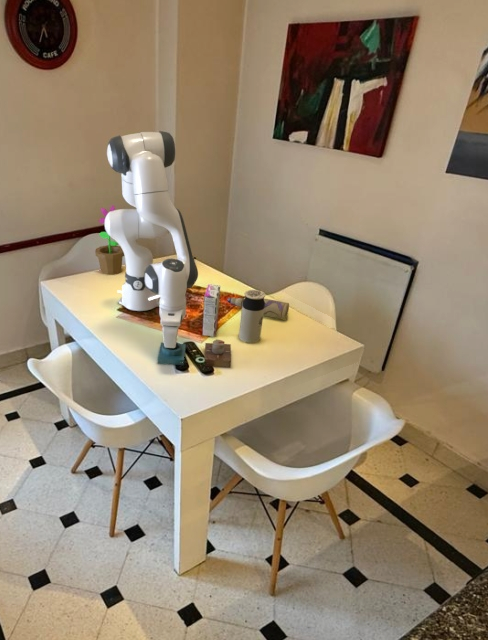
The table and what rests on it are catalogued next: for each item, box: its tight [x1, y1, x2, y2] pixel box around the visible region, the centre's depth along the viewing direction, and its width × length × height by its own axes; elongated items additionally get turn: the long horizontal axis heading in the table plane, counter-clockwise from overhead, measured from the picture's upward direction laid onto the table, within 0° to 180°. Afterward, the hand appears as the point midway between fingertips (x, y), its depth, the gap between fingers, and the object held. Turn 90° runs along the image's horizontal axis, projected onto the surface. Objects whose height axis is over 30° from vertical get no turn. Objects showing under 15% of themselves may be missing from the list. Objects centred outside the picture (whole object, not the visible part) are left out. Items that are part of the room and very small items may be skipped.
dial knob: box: [212, 339, 226, 354], centre depth 159 cm, size 4×4×4 cm
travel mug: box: [238, 289, 266, 344], centre depth 169 cm, size 8×8×18 cm
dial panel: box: [203, 342, 232, 369], centre depth 161 cm, size 11×9×3 cm
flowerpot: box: [94, 204, 125, 275], centre depth 219 cm, size 14×14×30 cm
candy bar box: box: [201, 284, 221, 338], centre depth 174 cm, size 11×5×16 cm, turn 168°
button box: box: [157, 341, 187, 366], centre depth 162 cm, size 11×9×4 cm
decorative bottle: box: [226, 297, 290, 320], centre depth 190 cm, size 26×8×7 cm, turn 63°
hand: (172, 346), depth 160 cm, fingers closed, pressing on start button
